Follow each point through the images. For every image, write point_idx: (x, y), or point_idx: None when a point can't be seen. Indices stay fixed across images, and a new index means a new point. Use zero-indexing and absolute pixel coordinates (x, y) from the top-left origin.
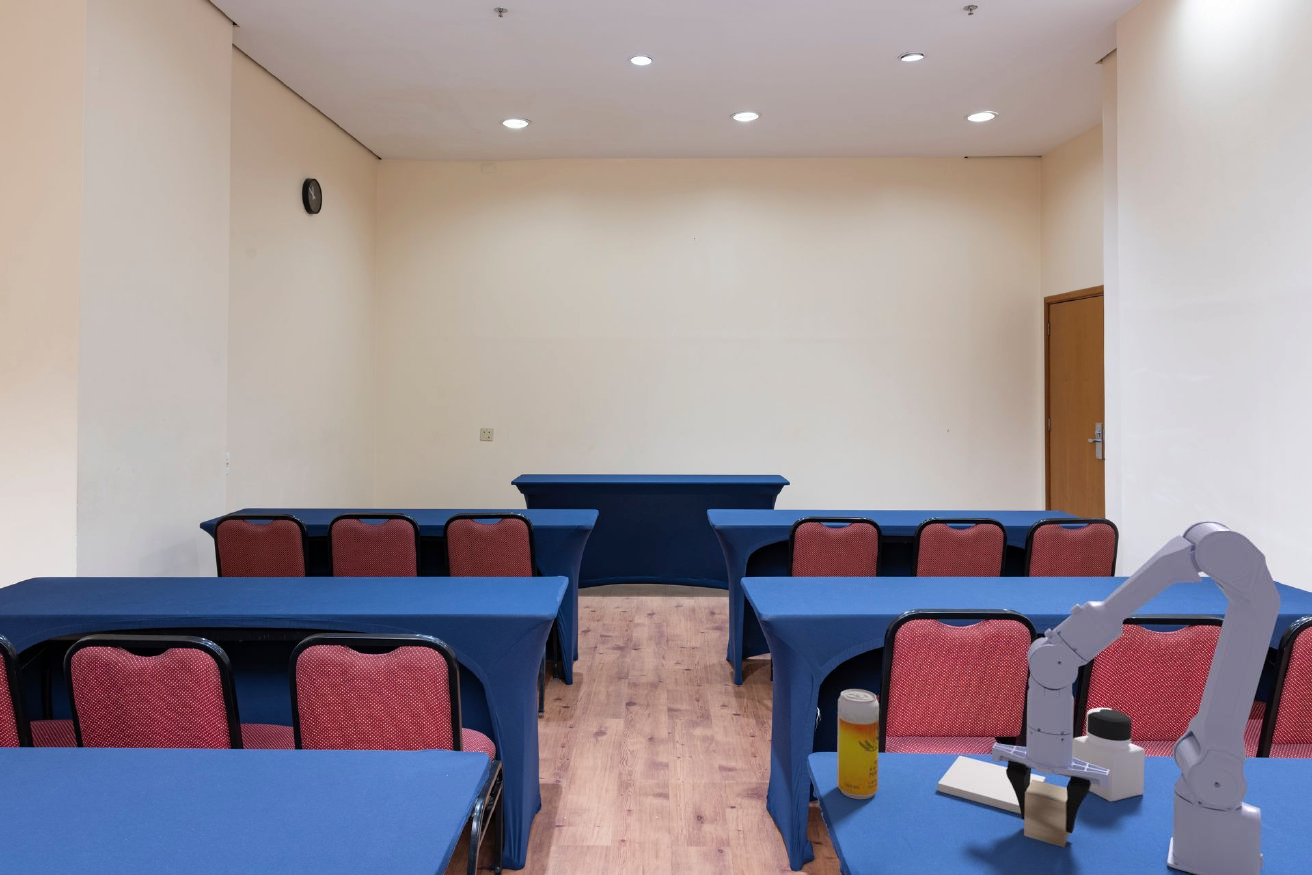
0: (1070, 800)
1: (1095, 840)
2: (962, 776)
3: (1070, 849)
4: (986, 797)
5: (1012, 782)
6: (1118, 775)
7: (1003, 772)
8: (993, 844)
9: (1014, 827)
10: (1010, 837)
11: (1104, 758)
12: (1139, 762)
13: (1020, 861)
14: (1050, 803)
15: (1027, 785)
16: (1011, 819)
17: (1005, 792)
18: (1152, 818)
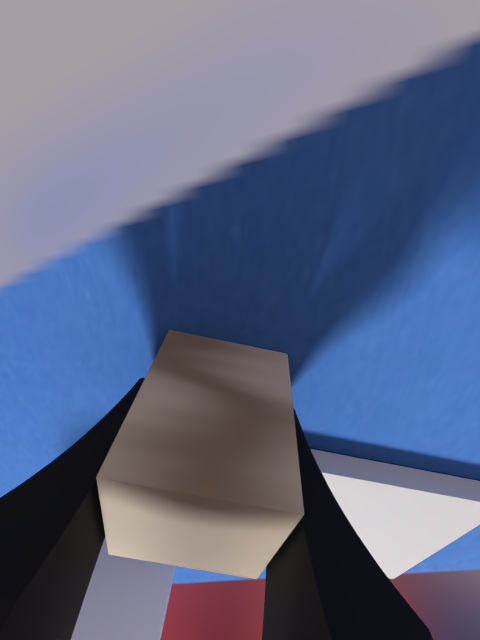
0: (65, 499)
1: (99, 387)
2: (415, 533)
3: (150, 323)
4: (375, 478)
5: (377, 575)
6: None
7: None
8: (415, 258)
9: (311, 384)
10: (335, 328)
11: (76, 634)
12: None
13: (327, 155)
14: (178, 467)
15: (282, 553)
16: (313, 417)
17: None
18: None
